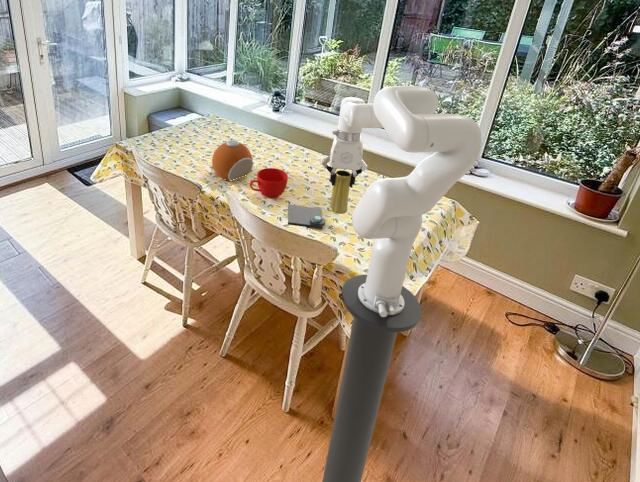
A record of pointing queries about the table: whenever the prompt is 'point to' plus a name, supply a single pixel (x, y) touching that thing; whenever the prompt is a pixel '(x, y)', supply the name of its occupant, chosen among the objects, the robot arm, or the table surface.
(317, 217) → the button
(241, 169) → the alarm clock
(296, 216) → the scale
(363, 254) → the table surface
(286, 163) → the table surface
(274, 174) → the ceramic cup
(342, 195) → the vase
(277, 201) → the table surface
